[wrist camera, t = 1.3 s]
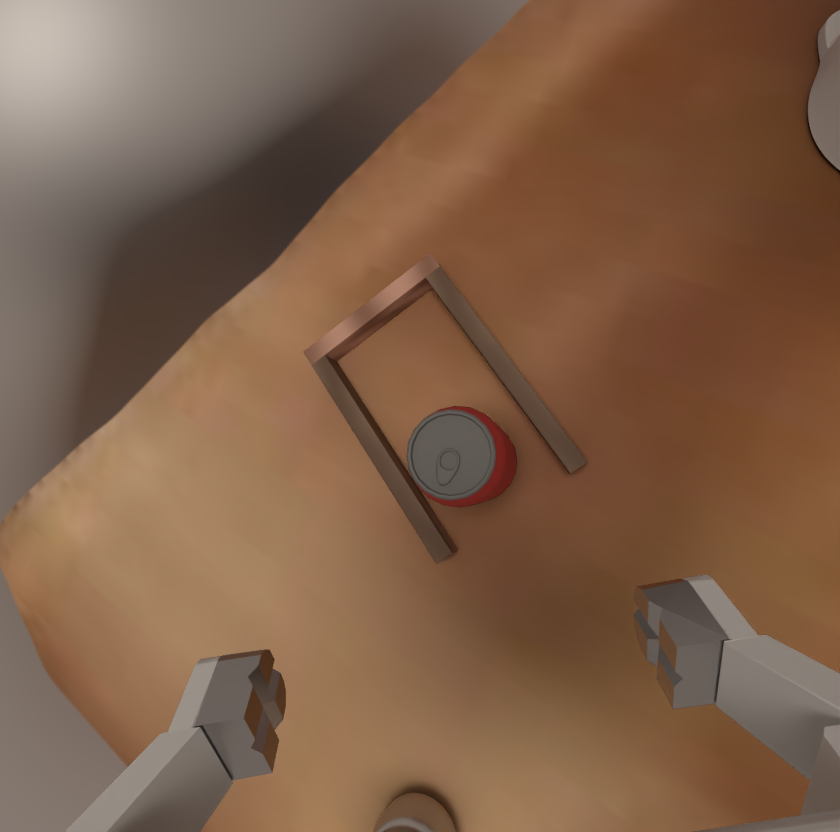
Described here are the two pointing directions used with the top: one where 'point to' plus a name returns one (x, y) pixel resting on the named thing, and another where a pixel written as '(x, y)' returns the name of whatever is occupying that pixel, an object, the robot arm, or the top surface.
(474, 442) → the beer can
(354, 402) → the walnut channel
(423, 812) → the plastic bottle
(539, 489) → the top surface
